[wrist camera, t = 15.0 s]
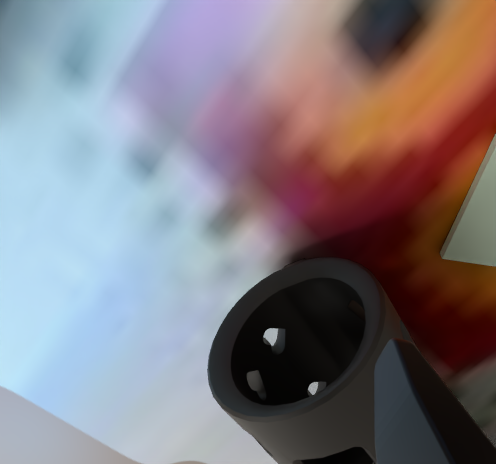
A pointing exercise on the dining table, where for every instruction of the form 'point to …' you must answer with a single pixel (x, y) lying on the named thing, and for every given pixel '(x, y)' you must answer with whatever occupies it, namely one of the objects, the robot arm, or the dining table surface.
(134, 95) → the dining table surface
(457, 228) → the mat
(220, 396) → the muzzle brake
